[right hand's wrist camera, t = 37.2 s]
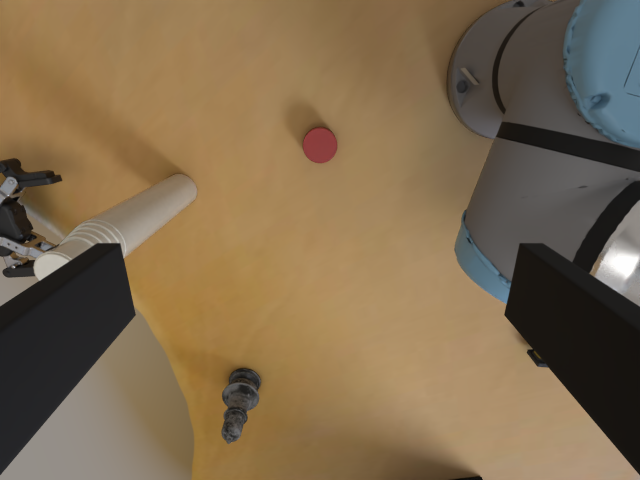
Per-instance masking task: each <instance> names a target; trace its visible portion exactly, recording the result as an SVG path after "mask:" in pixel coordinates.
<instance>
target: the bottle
mask: <svg viewBox="0 0 640 480" xmlns="http://www.w3.org/2000/svg"><path fill="white" fill-rule="evenodd" d="M196 196H197V188H196V185H195V183H194V182H193V180H192V179H190V178H189V177H188V176H186V175H183V174H174V175H172V176H170V177H168V178H166V179H164V180H162V181H160V182H158V183H156V184H154V185H153V186H151V187H149V188H147V189H145V190H143V191H141V192H139V193H137V194H135V195H134V196H132V197H130V198H128V199H126V200H124V201H122V202H120V203H118V204H116V205H115V206H113V207H111V208H109V209H107V210H105V211H103V212H101V213H99V214H97V215H96V216H94V217H92V218H90V219H88V220H86V221H84V222H82V223H81V224H80V225H78V226H77V227H76V228H75V229H74V230H73V231H72V232H71V233H70V234H69V235H68V236H67V237H66V238H65V239H64V240H63V241H62V242H61V243H60V244H59V246H58V247H56V248H54V249H52V250H49V251H46V252H44V253H43V254H41V255H40V256H38V257H37V259H36V260H35V262H34V267H33V268H34V274H35V276H36V277H37V279H38V280H39V281H40V280H42V279H43V278H45V277H46V276H48V275H49V274H51V273H52V272H54V271H55V270H57V269H58V268H60V267H61V266H63V265H64V264H66V263H67V262H69V261H71V260H72V259H74V258H75V257H77V256H78V255H80V254H81V253H83V252H84V251H86V250H87V249H89V248H90V247H92V246H93V245H95V244H96V243H121V248H122V253H123V258H126V257H127V256H128V255H129V254H130V253H132V252H133V251H134V250H135V249H137V248H138V247H139V246H140V245H141V244H143V243H144V242H145V241H146V240H147V239H149V238H150V237H151V236H152V235H153V234H155V233H156V232H157V231H158V230H160V229H161V228H162V227H163V226H164V225H166V224H167V223H168V222H169V221H170V220H172V219H173V218H174V217H175V216H177V215H178V214H179V213H180V212H181V211H183V210H184V209H185V208H186V207H187V206H189V205H190V204H191V203H192V202H193V201H194V200H195V199H196Z"/></svg>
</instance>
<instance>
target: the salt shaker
mask: <svg viewBox="0 0 640 480" xmlns="http://www.w3.org/2000/svg"><path fill="white" fill-rule="evenodd" d="M260 383H261V381H260V378H259V376H258V375H257V373H255V372H254V371H252V370H249V369H239V370H236V371H234V372H233V373H232V374H231V376H230V378H229V385H228V386H227V387H226V388H225V389H224V391H223V394H222V398H223V401H224V403H225V404H226V405H227V406H228V409H227V410H226V411H225V412H224V419H225V421H224V424H223V428H222V437H223V438H224V439H225V440H226V441H227V443H228V444H230V443H231V442H234V441H236V440H238V439H239V438H240V436H241V432H242V428H243V424H244V423H245V422H246V421H247V418H248V417H247V414H246V413H247V411H248V410H251V409H253V408H254V407H255V406H256V405H257V404H258V402H259V394H258V388H259V387H260Z"/></svg>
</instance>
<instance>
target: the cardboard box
mask: <svg viewBox="0 0 640 480" xmlns="http://www.w3.org/2000/svg"><path fill="white" fill-rule="evenodd" d="M459 480H483V479H482V477H477V478H468V479H459Z"/></svg>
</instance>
